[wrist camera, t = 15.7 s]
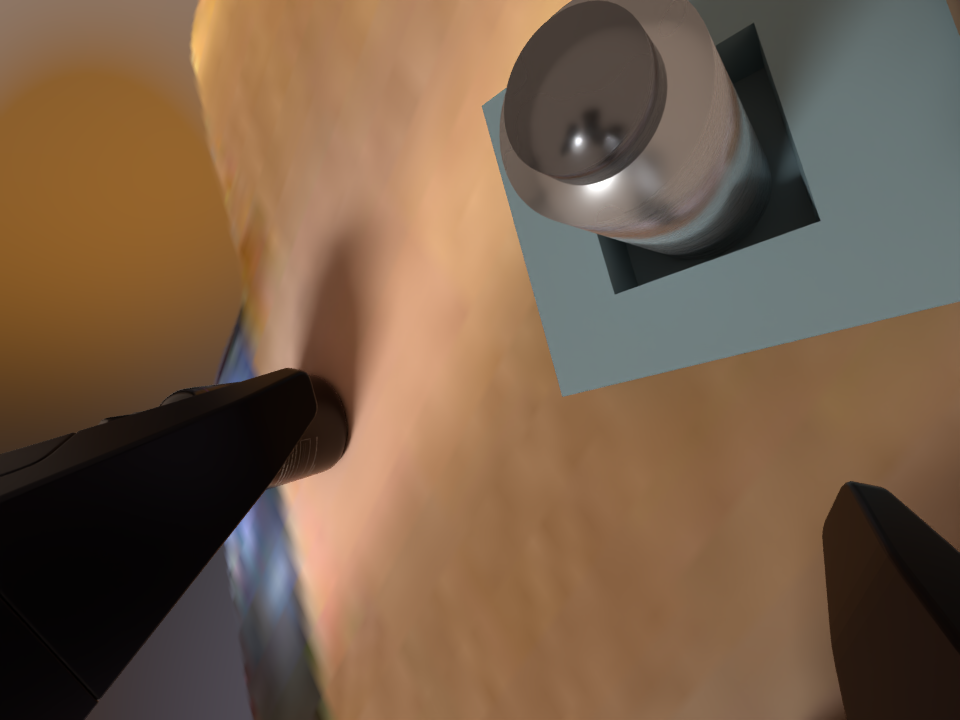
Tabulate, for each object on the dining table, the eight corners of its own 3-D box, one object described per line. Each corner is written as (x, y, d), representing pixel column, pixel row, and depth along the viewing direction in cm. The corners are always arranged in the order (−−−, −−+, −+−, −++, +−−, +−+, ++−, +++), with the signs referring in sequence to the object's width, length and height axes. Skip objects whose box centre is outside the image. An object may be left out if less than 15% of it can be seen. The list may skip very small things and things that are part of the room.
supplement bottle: (328, 355, 32) (111, 375, 22) (364, 451, 30) (149, 516, 21) (280, 396, 36) (76, 427, 26) (310, 482, 34) (107, 549, 24)
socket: (1362, 198, 10) (1567, 155, 7) (597, 385, 21) (562, 396, 18) (1153, -274, 11) (1264, -471, 8) (526, 132, 22) (481, 105, 19)
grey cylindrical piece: (805, 177, 15) (771, 22, 7) (697, 285, 18) (572, 266, 9) (699, 102, 17) (567, -95, 9) (611, 209, 19) (440, 135, 11)
